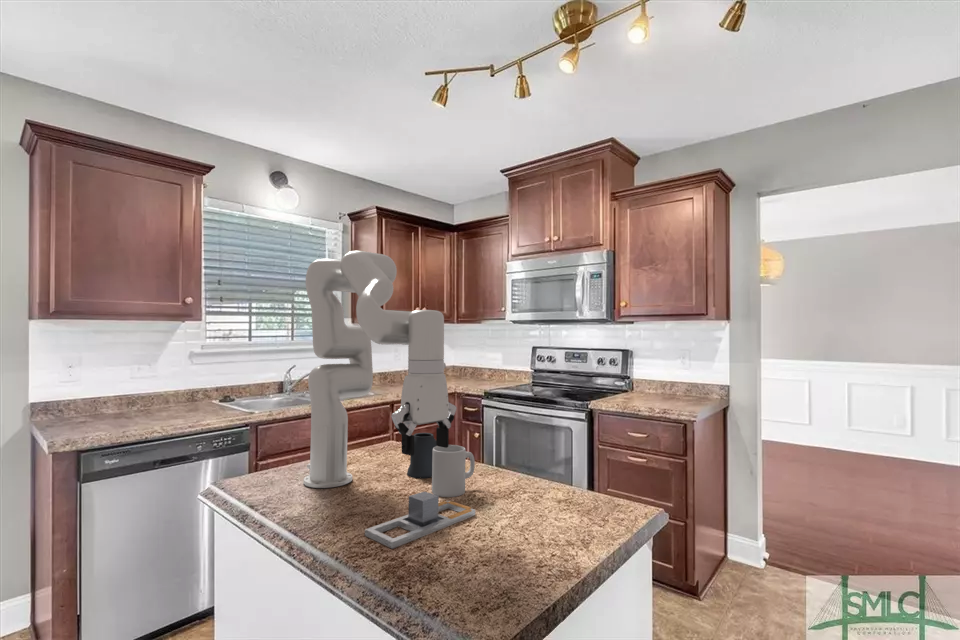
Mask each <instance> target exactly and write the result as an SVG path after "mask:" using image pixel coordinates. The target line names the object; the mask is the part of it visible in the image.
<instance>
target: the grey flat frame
mask: <svg viewBox="0 0 960 640" xmlns="http://www.w3.org/2000/svg"><path fill="white" fill-rule="evenodd" d="M447 509H449V510H451V511H454V512H456V513H453V514H451V515H448V516H445V515H443V514H441V513H439V512H442V511H444V510H447ZM474 516H476V509H474V508H472V507H471V506H468V505H465V504H461V503H459V502H455V501H453V500H446V501H445V500H443V501H440V502H438V521H437V522H435V523H432V524H429V525H427V526H424V527H420V526H418V525H415V524H413V523H410V522H408V514H406V515H402V516H400V517H397V518H394V519H392V520H389V521H385V522H382V523H379V524H377V525H374V526H371V527H368V528H365V529H364V537H366V538H369V539H371V540H373V541H375V542H376V543H379V544H381V545H383V546H386V547H388V548H389V549H392V550H393V549H395V548H397V547H401V546H403V545H406V544H408V543H410V542H412V541H415V540H417V539H420V538H422V537H425V536H427V535H430V534H432V533H435V532H437V531H439V530H442V529H445V528H447V527H450V526H452V525H454V524H456V523H460V522H462V521H464V520H467V519H469V518H471V517H474ZM396 528H400V529H404V530H406V531H408V532H407V533H404V534H402V535H399V536H396V537H394V538H393V537H392V536H389V535H388V534H385V533H384V532H387V531H390V530H392V529H396Z"/></svg>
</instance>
